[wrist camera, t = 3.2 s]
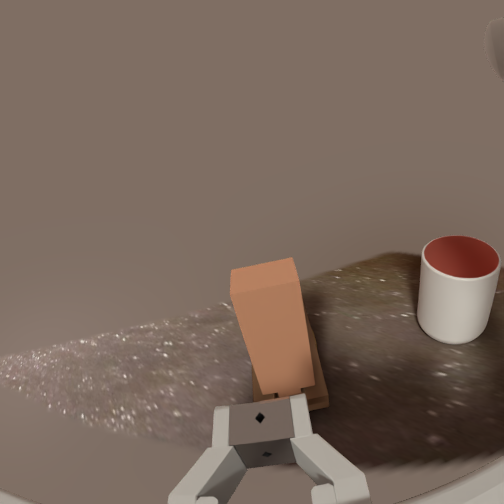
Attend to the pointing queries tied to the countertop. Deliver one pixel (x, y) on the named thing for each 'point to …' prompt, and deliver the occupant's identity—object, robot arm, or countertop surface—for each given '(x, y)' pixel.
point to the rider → (273, 325)
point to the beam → (314, 394)
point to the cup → (457, 287)
